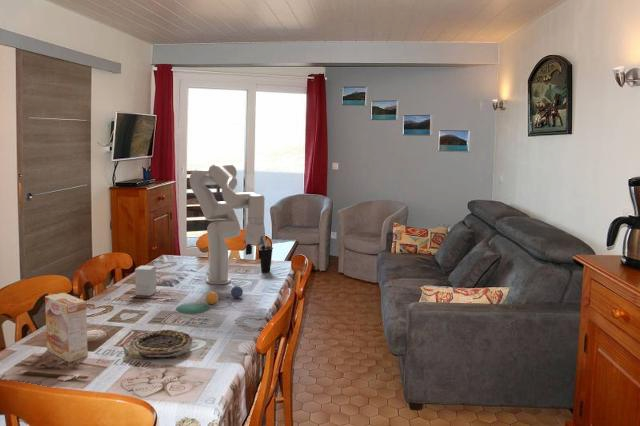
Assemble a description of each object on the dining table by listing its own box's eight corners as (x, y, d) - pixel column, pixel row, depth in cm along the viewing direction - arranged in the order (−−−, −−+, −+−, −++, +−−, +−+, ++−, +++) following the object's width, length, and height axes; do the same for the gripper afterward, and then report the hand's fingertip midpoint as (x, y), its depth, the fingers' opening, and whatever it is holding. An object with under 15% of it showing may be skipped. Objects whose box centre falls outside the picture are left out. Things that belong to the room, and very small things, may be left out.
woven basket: (171, 331, 213) (172, 319, 212) (218, 352, 196) (218, 338, 195) (104, 352, 191) (104, 339, 190) (149, 377, 174) (149, 362, 173)
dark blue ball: (228, 297, 257) (228, 286, 256) (237, 295, 261) (237, 284, 260) (235, 300, 253) (235, 288, 252) (245, 297, 257) (245, 286, 256)
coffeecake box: (46, 350, 190) (43, 296, 187) (66, 344, 196) (64, 291, 193) (68, 362, 181) (66, 305, 178) (88, 356, 186) (87, 300, 184)
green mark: (170, 307, 239) (170, 307, 239) (197, 301, 249) (197, 301, 249) (188, 315, 230) (188, 315, 230) (215, 308, 240) (215, 308, 240)
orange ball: (203, 303, 247) (203, 291, 246) (213, 301, 251) (213, 289, 250) (210, 306, 243) (210, 294, 242) (220, 303, 247) (220, 292, 246)
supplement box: (156, 291, 262) (156, 265, 261) (150, 296, 255) (149, 269, 253) (141, 290, 263) (141, 265, 261) (135, 295, 256) (134, 268, 254)
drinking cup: (266, 274, 301) (266, 238, 298) (255, 271, 305) (256, 236, 302) (275, 271, 307) (276, 236, 304) (265, 269, 311) (265, 234, 309)
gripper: (238, 218, 262) (237, 253, 264) (261, 224, 250) (260, 260, 252) (250, 217, 267) (250, 251, 269) (274, 222, 255) (273, 258, 257)
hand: (255, 256), depth 261 cm, fingers open, 9 cm apart
